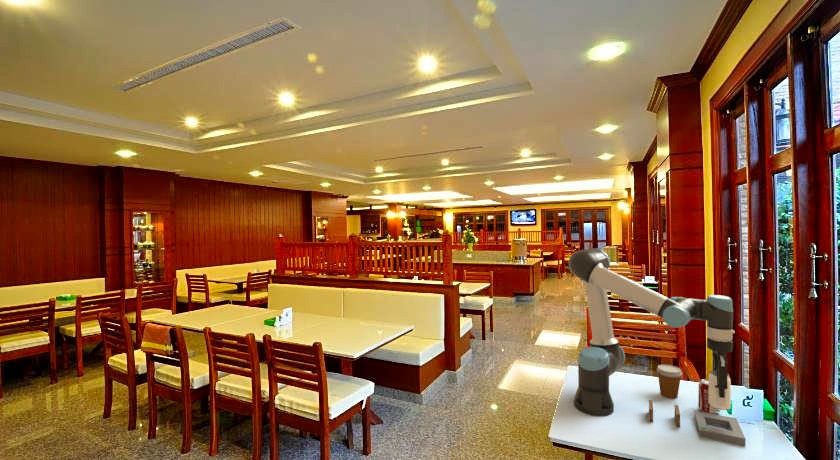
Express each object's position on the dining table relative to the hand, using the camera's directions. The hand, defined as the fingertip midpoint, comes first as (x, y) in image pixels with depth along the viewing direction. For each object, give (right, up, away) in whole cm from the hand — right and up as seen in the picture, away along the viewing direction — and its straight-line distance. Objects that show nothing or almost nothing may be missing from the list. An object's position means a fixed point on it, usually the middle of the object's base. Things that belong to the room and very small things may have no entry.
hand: (719, 400), depth 147 cm
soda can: (+6, -10, +14) cm, 19 cm away
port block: (0, -11, +1) cm, 11 cm away
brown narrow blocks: (-15, -11, +9) cm, 20 cm away
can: (0, -2, 0) cm, 2 cm away
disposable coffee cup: (-1, -10, +28) cm, 30 cm away
